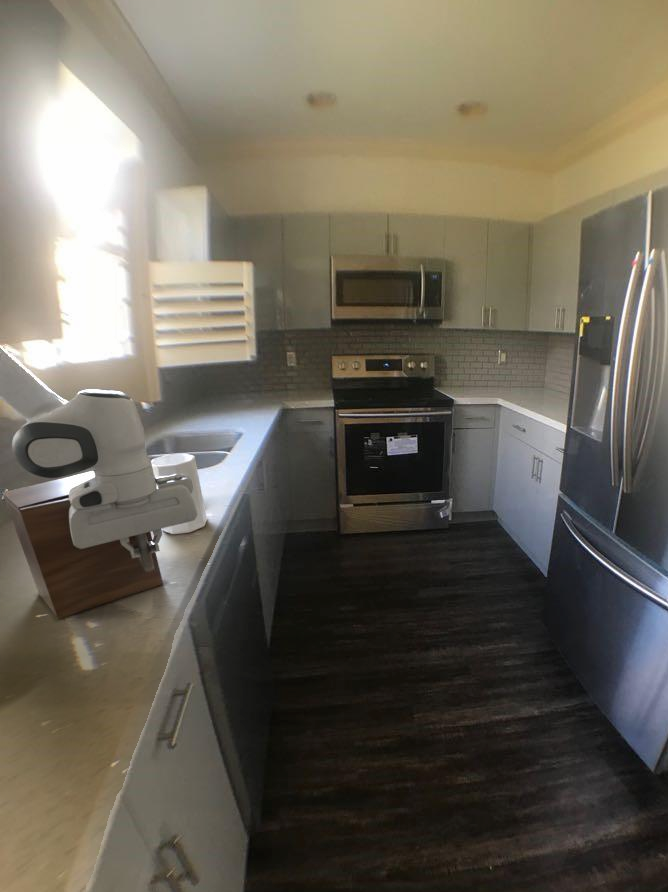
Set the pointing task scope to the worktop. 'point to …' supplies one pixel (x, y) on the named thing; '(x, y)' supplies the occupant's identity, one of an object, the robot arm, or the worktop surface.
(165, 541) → the worktop surface
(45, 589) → the cupboard
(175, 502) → the robot arm
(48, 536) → the cupboard door
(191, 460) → the cup
